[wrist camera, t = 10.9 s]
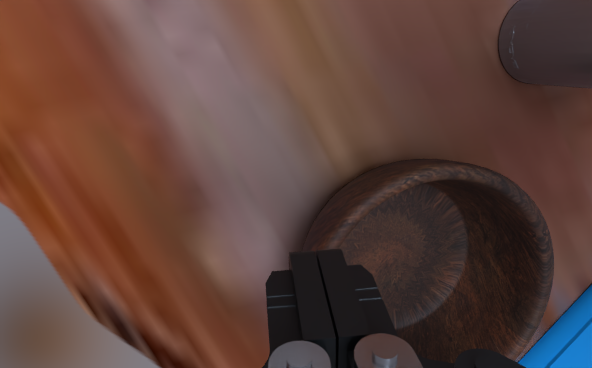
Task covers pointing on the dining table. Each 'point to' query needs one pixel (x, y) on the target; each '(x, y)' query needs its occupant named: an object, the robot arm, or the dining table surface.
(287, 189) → the dining table surface
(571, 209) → the dining table surface
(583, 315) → the book
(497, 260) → the wooden bowl
